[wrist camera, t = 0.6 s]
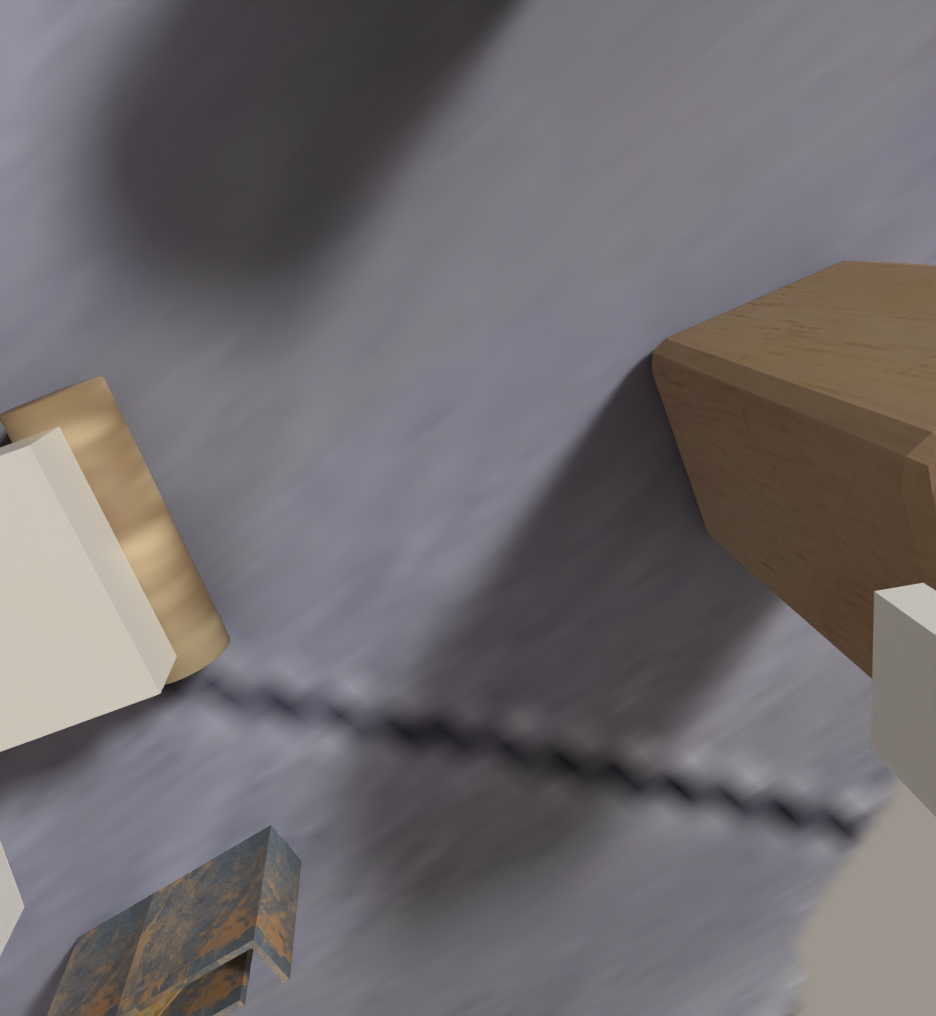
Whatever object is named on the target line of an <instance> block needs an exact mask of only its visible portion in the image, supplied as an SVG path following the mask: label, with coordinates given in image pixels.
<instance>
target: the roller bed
mask: <svg viewBox="0 0 936 1016" xmlns="http://www.w3.org/2000/svg"><path fill="white" fill-rule="evenodd" d="M0 421H1V423H2V424H3V426H4V428H5V430H6V432H7V434H8V436H9V438H10V439H11V441H12V443H14V442H17V441H20V440H23V439H25V438H28V437H31V436H34V435H36V434H39V433H42V432H45V431H48V430H50V429H53V428H56V427H60V429H61V431H62V433H63V435H64V437H65V439H66V441H67V443H68V445H69V447H70V448H71V450H72V452H73V454H74V456H75V458H76V460H77V462H78V464H79V466H80V468H81V470H82V472H83V474H84V476H85V478H86V480H87V482H88V484H89V486H90V488H91V490H92V491H93V493H94V495H95V497H96V499H97V501H98V503H99V505H100V507H101V509H102V511H103V513H104V515H105V517H106V519H107V521H108V523H109V525H110V527H111V529H112V531H113V532H114V534H115V536H116V538H117V540H118V542H119V544H120V546H121V548H122V550H123V552H124V554H125V556H126V558H127V560H128V562H129V564H130V566H131V568H132V570H133V572H134V573H135V575H136V577H137V579H138V581H139V583H140V585H141V587H142V589H143V591H144V593H145V595H146V597H147V599H148V601H149V603H150V605H151V607H152V609H153V611H154V613H155V615H156V616H157V618H158V620H159V622H160V624H161V626H162V628H163V630H164V632H165V634H166V636H167V638H168V640H169V642H170V644H171V646H172V648H173V650H174V652H175V654H176V656H177V657H176V659H175V662H174V664H173V666H172V668H171V671H170V673H169V675H168V678H167V680H166V682H165V684H164V685H166V684H169V683H172V682H175V681H178V680H180V679H183V678H185V677H187V676H189V675H191V674H193V673H195V672H197V671H199V670H201V669H202V668H204V667H205V666H207V665H208V664H210V663H211V662H213V661H214V660H215V659H216V658H217V657H219V656H220V655H221V654H222V653H223V652H224V651H225V649H226V648H227V646H228V645H229V642H230V637H229V635H228V633H227V631H226V629H225V627H224V625H223V623H222V621H221V618H220V616H219V614H218V612H217V610H216V608H215V606H214V604H213V602H212V600H211V598H210V596H209V594H208V592H207V590H206V588H205V585H204V583H203V581H202V579H201V577H200V575H199V573H198V571H197V569H196V567H195V565H194V563H193V561H192V559H191V557H190V554H189V552H188V550H187V548H186V546H185V544H184V542H183V540H182V538H181V536H180V534H179V532H178V530H177V528H176V526H175V524H174V521H173V519H172V517H171V515H170V513H169V511H168V509H167V507H166V505H165V503H164V501H163V499H162V497H161V495H160V493H159V491H158V488H157V486H156V484H155V482H154V480H153V478H152V476H151V474H150V472H149V470H148V468H147V466H146V464H145V462H144V460H143V458H142V455H141V453H140V451H139V449H138V447H137V445H136V443H135V441H134V439H133V437H132V435H131V433H130V431H129V429H128V427H127V424H126V422H125V420H124V418H123V416H122V414H121V412H120V410H119V408H118V406H117V404H116V402H115V400H114V398H113V396H112V394H111V391H110V389H109V387H108V385H107V383H106V381H105V379H104V377H103V376H100V377H96V378H93V379H90V380H87V381H84V382H81V383H78V384H75V385H72V386H69V387H67V388H64V389H61V390H58V391H56V392H53V393H50V394H48V395H45V396H43V397H40V398H38V399H35V400H32V401H30V402H28V403H25V404H23V405H20V406H18V407H15V408H13V409H11V410H9V411H6V412H4V413H2V414H0Z"/></svg>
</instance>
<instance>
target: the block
mask: <svg viewBox="0 0 936 1016" xmlns="http://www.w3.org/2000/svg"><path fill="white" fill-rule="evenodd" d="M652 373H653V376H654V379H655V382H656V385H657V387H658V390H659V393H660V396H661V399H662V402H663V405H664V408H665V411H666V414H667V416H668V419H669V422H670V425H671V428H672V431H673V434H674V437H675V440H676V442H677V445H678V448H679V451H680V454H681V457H682V460H683V463H684V466H685V469H686V471H687V474H688V477H689V480H690V483H691V486H692V489H693V492H694V495H695V498H696V500H697V503H698V506H699V509H700V512H701V515H702V518H703V521H704V524H705V526H706V529H707V532H708V534H709V535H710V536H711V537H712V538H713V539H714V540H715V541H716V542H717V543H718V544H719V545H720V546H721V547H723V548H724V549H725V550H726V551H727V552H728V553H729V554H730V555H732V556H733V557H734V558H735V559H736V560H737V561H738V562H740V563H741V564H742V565H743V566H744V567H745V568H746V569H748V570H749V571H750V572H751V573H752V574H753V575H754V576H756V577H757V578H758V579H759V580H760V581H761V582H762V583H764V584H765V585H766V586H767V587H768V588H769V589H770V590H771V591H773V592H774V593H775V594H776V595H777V596H778V597H779V598H781V599H782V600H783V601H784V602H785V603H786V604H787V605H789V606H790V607H791V608H792V609H793V610H794V611H795V612H797V613H798V614H799V615H800V616H801V617H802V618H803V619H805V620H806V621H807V622H808V623H809V624H810V625H811V626H812V627H814V628H815V629H816V630H817V631H818V632H819V633H820V634H822V635H823V636H824V637H825V638H826V639H827V640H828V641H830V642H831V643H832V644H833V645H834V646H835V647H836V648H838V649H839V650H840V651H841V652H842V653H843V654H844V655H846V656H847V657H848V658H849V659H850V660H851V661H852V662H853V663H855V664H856V665H857V666H858V667H859V668H860V669H861V670H863V671H864V672H865V673H866V674H867V675H868V676H869V677H871V678H872V667H873V622H874V591H878V590H884V589H890V588H896V587H901V586H907V585H913V584H919V583H925V584H926V585H928V586H929V587H931V588H932V589H934V590H936V265H923V264H905V263H888V262H870V261H842V262H840V263H838V264H835V265H833V266H831V267H828V268H826V269H824V270H822V271H819V272H817V273H815V274H812V275H810V276H808V277H806V278H803V279H801V280H799V281H796V282H794V283H792V284H790V285H787V286H785V287H783V288H780V289H778V290H776V291H774V292H771V293H769V294H767V295H764V296H762V297H760V298H758V299H755V300H753V301H751V302H748V303H746V304H744V305H742V306H739V307H737V308H735V309H732V310H730V311H728V312H726V313H723V314H721V315H719V316H716V317H714V318H712V319H710V320H707V321H705V322H703V323H701V324H698V325H696V326H694V327H691V328H689V329H687V330H685V331H682V332H680V333H678V334H675V335H673V336H671V337H669V338H666V339H665V340H664V341H663V342H662V343H661V344H660V345H659V346H658V347H657V348H656V349H655V350H654V351H652Z"/></svg>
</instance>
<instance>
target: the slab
mask: <svg viewBox="0 0 936 1016" xmlns="http://www.w3.org/2000/svg"><path fill="white" fill-rule="evenodd" d="M176 657H177V656H176V654H175V652H174V650H173V648H172V646H171V644H170V642H169V640H168V638H167V636H166V634H165V632H164V630H163V628H162V626H161V624H160V622H159V620H158V618H157V616H156V615H155V613H154V611H153V609H152V607H151V605H150V603H149V601H148V599H147V597H146V595H145V593H144V591H143V589H142V587H141V585H140V583H139V581H138V579H137V577H136V575H135V573H134V572H133V570H132V568H131V566H130V564H129V562H128V560H127V558H126V556H125V554H124V552H123V550H122V548H121V546H120V544H119V542H118V540H117V538H116V536H115V534H114V532H113V531H112V529H111V527H110V525H109V523H108V521H107V519H106V517H105V515H104V513H103V511H102V509H101V507H100V505H99V503H98V501H97V499H96V497H95V495H94V493H93V491H92V490H91V488H90V486H89V484H88V482H87V480H86V478H85V476H84V474H83V472H82V470H81V468H80V466H79V464H78V462H77V460H76V458H75V456H74V454H73V452H72V450H71V448H70V447H69V445H68V443H67V441H66V439H65V437H64V435H63V433H62V431H61V429H60V427H56V428H53V429H50V430H48V431H45V432H42V433H39V434H36V435H34V436H31V437H28V438H25V439H23V440H20V441H17V442H14V443H12V444H9V445H6V446H3V447H0V752H1V751H4V750H7V749H10V748H12V747H15V746H18V745H21V744H23V743H26V742H29V741H32V740H34V739H37V738H40V737H43V736H45V735H48V734H51V733H54V732H56V731H59V730H62V729H65V728H67V727H70V726H73V725H76V724H79V723H81V722H84V721H87V720H90V719H92V718H95V717H98V716H101V715H103V714H106V713H109V712H112V711H114V710H117V709H120V708H123V707H125V706H128V705H131V704H134V703H136V702H139V701H142V700H145V699H147V698H150V697H153V696H156V695H158V694H160V693H161V691H162V689H163V687H164V684H165V682H166V680H167V678H168V675H169V673H170V671H171V668H172V666H173V664H174V662H175V659H176Z"/></svg>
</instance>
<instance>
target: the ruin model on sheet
mask: <svg viewBox="0 0 936 1016" xmlns="http://www.w3.org/2000/svg"><path fill="white" fill-rule="evenodd" d="M300 869H301V860H300V859H299V858H298V857H297V855H296V854H295V853H294V852H293V851H292V849H291V848H290V847H289V846H288V845H287V843H286V842H285V841H284V840H283V839H282V837H281V836H280V835H279V834H278V833H277V831H276V830H275V829H274V828H273V827H272V825H271V826H269V827H267V828H265V829H264V830H262V831H260V832H259V833H257V834H255V835H253V836H252V837H250V838H248V839H247V840H245V841H243V842H241V843H240V844H238V845H236V846H235V847H233V848H231V849H229V850H228V851H226V852H224V853H223V854H221V855H219V856H217V857H216V858H214V859H212V860H211V861H209V862H207V863H205V864H204V865H202V866H200V867H198V868H197V869H195V870H193V871H192V872H190V873H188V874H186V875H185V876H183V877H181V878H180V879H178V880H176V881H174V882H173V883H171V884H169V885H168V886H166V887H164V888H162V889H161V890H159V891H157V892H156V893H154V894H152V895H150V896H149V897H147V898H145V899H144V900H142V901H140V902H138V903H137V904H135V905H133V906H132V907H130V908H128V909H126V910H125V911H123V912H121V913H120V914H118V915H116V916H114V917H113V918H111V919H109V920H107V921H106V922H104V923H102V924H101V925H99V926H97V927H95V928H94V929H92V930H90V931H89V932H87V933H85V934H83V935H82V936H80V937H78V939H77V941H76V944H75V946H74V949H73V951H72V954H71V956H70V959H69V961H68V964H67V966H66V969H65V971H64V974H63V976H62V979H61V981H60V984H59V986H58V989H57V991H56V994H55V996H54V999H53V1001H52V1003H51V1006H50V1008H49V1011H48V1013H47V1016H225V1015H226V1014H228V1013H230V1012H232V1011H233V1010H235V1009H237V1008H238V1009H239V1008H241V1007H243V1006H244V1005H245V1000H246V993H247V987H248V980H249V974H250V967H251V960H252V954H253V950H254V951H255V952H256V953H257V954H258V955H259V956H260V957H261V959H262V960H263V961H264V962H265V963H266V964H267V965H268V966H269V967H270V969H271V970H272V971H273V972H274V973H275V974H276V975H277V976H278V977H279V979H280V980H281V981H282V982H283V983H285V982H287V981H288V980H290V972H291V962H292V951H293V941H294V931H295V921H296V910H297V900H298V890H299V879H300Z"/></svg>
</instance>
